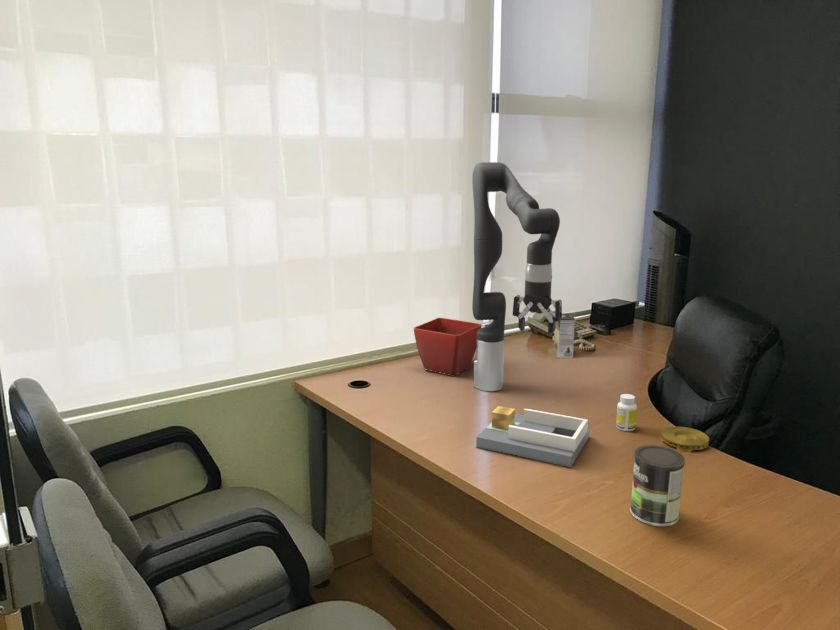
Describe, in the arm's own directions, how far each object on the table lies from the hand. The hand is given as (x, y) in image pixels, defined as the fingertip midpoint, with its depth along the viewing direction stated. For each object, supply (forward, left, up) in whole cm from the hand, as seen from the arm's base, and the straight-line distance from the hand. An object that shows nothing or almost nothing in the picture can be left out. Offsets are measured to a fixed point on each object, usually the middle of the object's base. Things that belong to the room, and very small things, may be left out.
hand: (536, 332), depth 186 cm
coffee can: (+41, -40, -27) cm, 63 cm away
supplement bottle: (+27, +4, -27) cm, 38 cm away
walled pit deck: (+6, -17, -27) cm, 32 cm away
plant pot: (-42, +29, -27) cm, 58 cm away
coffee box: (-8, +65, -27) cm, 70 cm away
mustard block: (-3, -17, -23) cm, 29 cm away
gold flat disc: (+43, +1, -27) cm, 51 cm away
